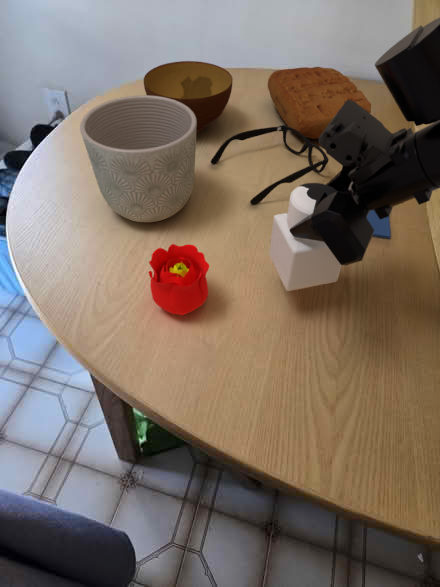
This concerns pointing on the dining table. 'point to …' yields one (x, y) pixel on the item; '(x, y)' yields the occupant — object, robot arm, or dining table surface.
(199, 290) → the flower
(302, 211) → the medicine bottle
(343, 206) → the robot arm
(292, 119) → the clay tablet
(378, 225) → the towel
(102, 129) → the planter
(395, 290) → the dining table surface
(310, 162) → the glasses
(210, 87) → the bowl
